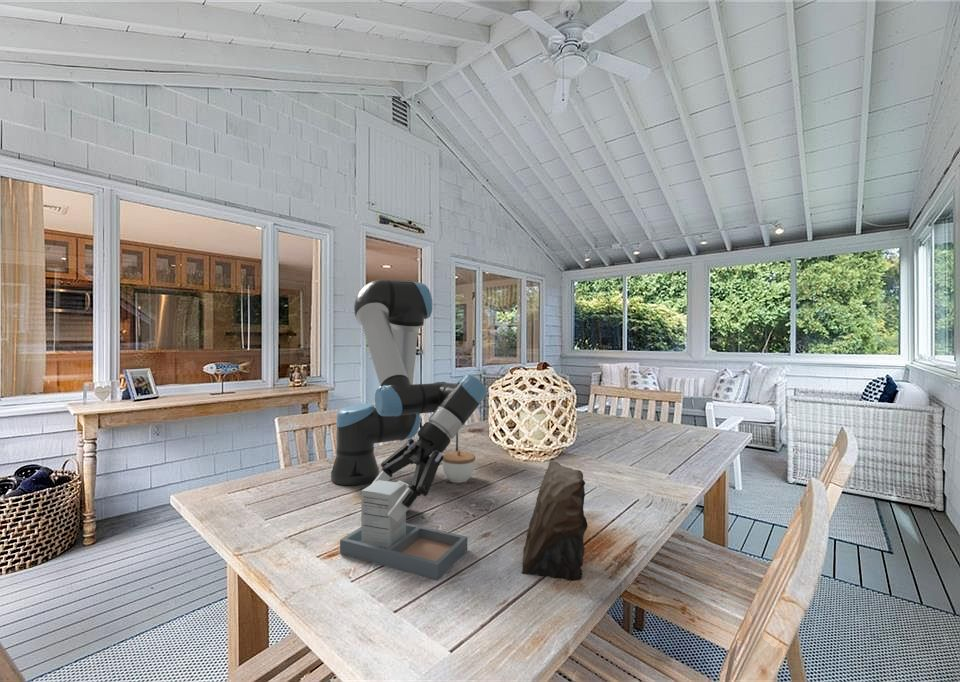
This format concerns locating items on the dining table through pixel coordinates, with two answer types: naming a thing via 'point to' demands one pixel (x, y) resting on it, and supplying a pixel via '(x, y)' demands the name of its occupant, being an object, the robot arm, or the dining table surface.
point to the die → (410, 489)
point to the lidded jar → (458, 466)
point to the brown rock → (557, 526)
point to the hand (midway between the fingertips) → (379, 507)
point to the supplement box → (381, 514)
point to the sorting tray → (411, 551)
